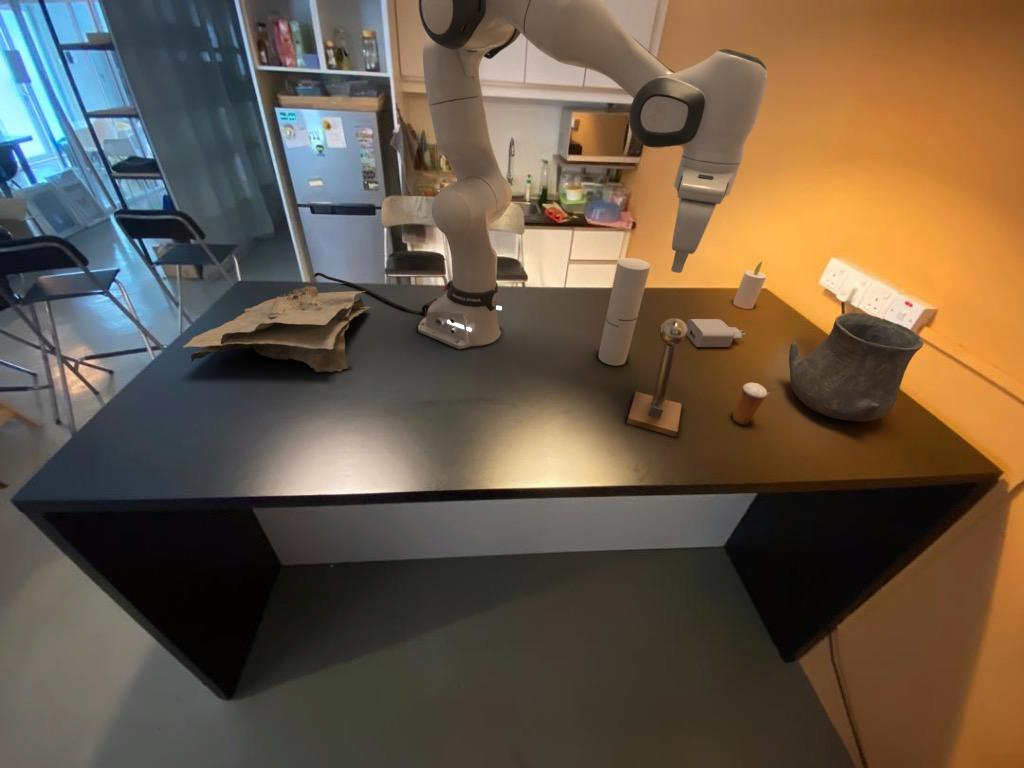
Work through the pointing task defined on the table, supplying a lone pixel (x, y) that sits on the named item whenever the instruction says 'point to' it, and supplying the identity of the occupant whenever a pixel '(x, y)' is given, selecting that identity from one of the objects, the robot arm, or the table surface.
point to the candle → (749, 288)
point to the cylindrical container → (623, 310)
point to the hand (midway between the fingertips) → (678, 262)
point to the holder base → (655, 414)
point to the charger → (711, 333)
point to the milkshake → (749, 402)
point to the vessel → (854, 368)
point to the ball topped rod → (668, 355)
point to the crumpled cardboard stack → (290, 329)
